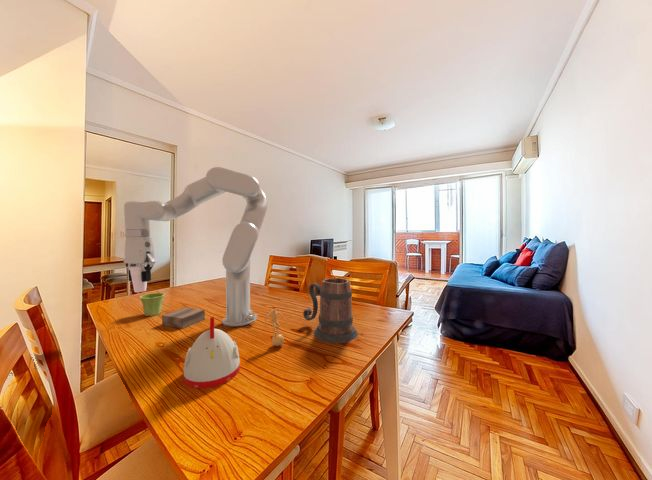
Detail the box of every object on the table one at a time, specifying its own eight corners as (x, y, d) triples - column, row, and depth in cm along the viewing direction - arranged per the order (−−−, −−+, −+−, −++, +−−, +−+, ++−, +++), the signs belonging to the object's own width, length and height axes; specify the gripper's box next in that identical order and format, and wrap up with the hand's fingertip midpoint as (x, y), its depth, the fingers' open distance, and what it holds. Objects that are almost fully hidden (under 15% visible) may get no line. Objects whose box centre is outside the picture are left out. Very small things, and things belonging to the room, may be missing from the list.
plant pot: (169, 313, 117) (168, 294, 117) (145, 319, 109) (145, 299, 109) (159, 309, 122) (158, 291, 122) (136, 315, 114) (135, 296, 114)
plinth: (204, 319, 109) (204, 310, 109) (183, 328, 99) (182, 318, 98) (185, 316, 113) (185, 307, 112) (162, 325, 102) (162, 315, 102)
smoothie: (139, 293, 94) (137, 255, 93) (125, 292, 95) (123, 255, 94) (154, 289, 100) (152, 254, 99) (140, 288, 101) (139, 254, 101)
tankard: (365, 330, 97) (366, 279, 96) (343, 347, 83) (343, 287, 83) (317, 318, 111) (317, 273, 110) (290, 331, 97) (290, 279, 96)
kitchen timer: (180, 394, 60) (179, 331, 59) (186, 365, 72) (185, 313, 72) (242, 380, 65) (241, 323, 64) (237, 355, 78) (237, 307, 77)
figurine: (270, 352, 80) (270, 314, 79) (260, 346, 84) (260, 310, 84) (291, 343, 86) (291, 308, 85) (280, 338, 90) (280, 305, 90)
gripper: (163, 233, 97) (165, 280, 98) (132, 234, 103) (134, 277, 104) (144, 234, 90) (146, 284, 91) (111, 234, 96) (113, 281, 96)
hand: (139, 280), depth 97 cm, fingers closed on smoothie, 6 cm apart
